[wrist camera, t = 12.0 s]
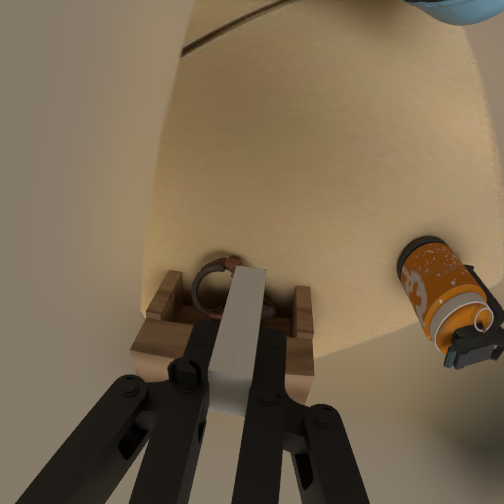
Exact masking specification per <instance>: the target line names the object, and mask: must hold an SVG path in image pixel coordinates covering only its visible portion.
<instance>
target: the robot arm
mask: <svg viewBox="0 0 504 504" xmlns="http://www.w3.org/2000/svg"><path fill="white" fill-rule="evenodd" d="M402 1H404V2H405V3H408V4H411V5H413V6H416V7H418V8H419V9H421V10H422V11H424V12H425V13H427V14H428V15H430V16H431V17H433V18H434V19H436V20H438V21H440V22H443V23H447V24H451V25H455V26H463V25H471V24H475V23H479V22H482V21H484V20H487V19H489V18H491V17H493V16H496V15H497V14H499V13H500V12H502V11H504V0H402ZM266 273H267V270H266V269H258V268H251V267H243V266H236V269H235V273H234V276H233V280H232V283H231V287H230V291H229V294H228V298H227V302H226V305H225V309H224V312H223V316H222V320H221V322H217V321H210V320H204V319H200V320H199V321H198V322H197V323H196V324H195V325H194V326H193V329H192V331H191V334H190V337H189V340H188V343H187V345H186V348H185V351H184V354H183V357H181V358H177V359H175V360H173V361H172V362H170V364H169V365H168V367H167V370H168V376H169V379H167V380H165V381H160V382H145V381H144V380H143V379H142V378H141V377H139V376H136V375H124V376H121V377H119V378H118V379H117V380H116V381H115V382H114V383H113V384H112V385H111V386H110V388H109V389H108V390H107V391H106V392H105V394H104V395H103V396H102V397H101V398H100V400H99V401H98V402H97V403H96V405H95V406H94V407H93V408H92V409H91V410H90V412H89V413H88V414H87V415H86V416H85V418H84V419H83V420H82V421H81V422H80V424H79V425H78V426H77V427H76V428H75V430H74V431H73V432H72V433H71V435H70V436H69V437H68V438H67V439H66V441H65V442H64V443H63V444H62V446H61V447H60V448H59V449H58V450H57V452H56V453H55V454H54V456H53V457H52V458H51V459H50V460H49V462H48V463H47V464H46V465H45V467H44V468H43V469H42V470H41V472H40V473H39V474H38V475H37V477H36V478H35V479H34V480H33V482H32V483H31V484H30V485H29V487H28V488H27V489H26V490H25V492H24V493H23V494H22V495H21V497H20V498H19V499H18V500H17V502H16V503H15V504H105V503H106V501H107V500H108V498H109V497H110V495H111V494H112V492H113V491H114V490H115V488H116V487H117V485H118V484H119V482H120V481H121V479H122V478H123V476H124V475H125V473H126V472H127V471H128V469H129V467H130V466H131V465H132V463H133V462H134V460H135V459H136V457H137V456H138V455H139V453H140V452H141V450H142V449H143V447H144V446H145V444H146V443H147V441H148V440H149V442H148V445H147V448H146V451H145V454H144V457H143V460H142V463H141V466H140V469H139V472H138V476H137V479H136V482H135V485H134V488H133V491H132V494H131V498H130V501H129V504H188V501H189V497H190V492H191V488H192V484H193V479H194V475H195V470H196V466H197V461H198V457H199V453H200V449H201V444H202V440H203V436H204V431H205V427H206V416H207V412H208V407H209V411H213V412H219V413H225V414H231V415H238V416H245V421H244V428H243V434H242V440H241V447H240V454H239V460H238V466H237V472H236V478H235V484H234V490H233V497H232V503H231V504H278V502H279V491H280V479H281V465H282V453H283V450H286V451H288V452H290V453H291V457H292V462H293V466H294V470H295V474H296V479H297V483H298V488H299V492H300V496H301V501H302V504H370V503H369V499H368V497H367V493H366V490H365V487H364V484H363V481H362V478H361V475H360V472H359V469H358V466H357V463H356V460H355V457H354V454H353V451H352V448H351V445H350V442H349V440H348V437H347V434H346V431H345V428H344V425H343V422H342V419H341V417H340V415H339V413H338V411H337V410H336V409H334V408H333V407H332V406H329V405H326V404H316V405H313V406H311V407H307V406H305V405H302V404H300V403H297V402H296V401H294V400H293V399H291V398H290V397H289V395H288V394H287V392H286V390H285V371H286V349H287V338H286V336H285V334H284V332H283V330H279V329H271V328H263V327H259V326H260V319H261V311H262V304H263V296H264V288H265V281H266ZM149 438H150V439H149Z"/></svg>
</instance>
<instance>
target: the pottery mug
mask: <svg viewBox="0 0 504 504" xmlns="http://www.w3.org/2000/svg"><path fill="white" fill-rule="evenodd" d="M241 264H242V261H241V260H239V259H237V258H234V257H232V258H231V257H229V258H228V259H227V258H221V259H217V260H214V261H212V262H210V263H208V264H206V265H205V266H204V267H202V269H201V271H200V272H198V273H197V275H196V277H195V279H194V281H193V284H192V289H191V294H192V299H193V303H194V305H195V307H196V309H197V310H198V311H199V312H200V313H202V314H203V315H204V316H206V317H209V318H211V320H212V321H217V322H221V320H222V316H223V312H224V309H225V308H223V307H221V306H218V307H217V308H216V309H214V310H213V312H214V313H213V312H210V311H208V310H207V309H206V308H205V307H204V306H203V305H202V303H201V302H200V299H199V296H198V289H199V285H200V282H201V281H202V279H203V278H204V277H205V276H206V275H208V274H209V273H211V272H216V271H220V272H224V271H225V269H226V270H228V271H230V272H232V274H231V277H232V278H233V276H234V273H235V269H236V266H239V265H241ZM275 314H276V309H275V307H274V305H273V304H271V303H270V302H269V301H267V300H265V299H264V298H263V304H262V311H261V319H267V320H269V319H271V318H273V317H274V316H275Z"/></svg>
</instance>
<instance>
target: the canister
mask: <svg viewBox="0 0 504 504" xmlns="http://www.w3.org/2000/svg"><path fill="white" fill-rule="evenodd" d="M473 269H474V266H470V265H464V264H462V262H461V261H460V260H459V259H458V258H457V256H456V255H455V254H454V253H453V251H452V250H451V249H450V248H449V247H448V245H447V244H446V243H445V242H444V241H442V240H441V239H438V238H435V237H426V238H422V239H419V240H417V241H415V242H414V243H412V244H411V245H410V246H409V247H408V248H407V249H406V250H405V251H404V252H403V254H402V256H401V258H400V260H399V263H398V277H399V279H400V281H401V283H402V285H403V287H404V289H405V291H406V294H407V296H408V298H409V300H410V302H411V304H412V306H413V308H414V311H415V313H416V315H417V317H418V319H419V322H420V324H421V326H422V328H423V330H424V333H425V335H426V336H427V338H428V339H429V340H431V341H432V342H434V344H435V346H436V348H437V349H438V350H439V351H440V352H442V353H444V354H446V357H445V361H444V367H447V368H450V367H452V366H453V365H454V367H455V369H456V370H458V369H462V368H464V366H468V365H472V364H475V363H478V362H482V361H485V360H488V359H491V360H495V361H497V359H498V358H499V356H500V355H501V354H502V352H503V351H504V329H502V327H501V326H500V325H501V324H502V323H503V322H504V310H503V309H502V307H501V306H500V304H499V303H498V302H497V300H496V298H494V297H493V295H492V294H491V293H490V292H489V290H488V289H487V287H486V286H485V285H484V283H483V282H482V281H481V279H480V278H479V277H478V276H477V274H476V273H475V272H474V271H473ZM495 345H497V348H496V349H495V350H494V346H495Z"/></svg>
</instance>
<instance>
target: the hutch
mask: <svg viewBox="0 0 504 504" xmlns="http://www.w3.org/2000/svg"><path fill="white" fill-rule="evenodd" d="M207 310H208V311H210V312H213V310H212V309H207ZM213 313H214V312H213ZM146 316H147V318H146V320H145V322H144V324H143V326H142V328H141V329H140V331H139V333H138V335H137V337H136V339H135V341H134V343H133V345H132V347H131V349H130V353H131V356H132V360H133V364H134V368H135V372H136V375H137V376H139V377H141V378H142V379H143V380H144V381H145V382H160V381H165V380H167V379H169V376H168V370H167V367H168V365H169V364H170V362H172V361H173V360H175V359H177V358H181V357H183V354H184V351H185V348H186V345H187V343H188V340H189V337H190V334H191V331H192V329H193V326H194V325H195V324H196V323H197V322H198V321H199V320H200V319H204V320H210V321H212V320H211V318H209V317H206V316H204V315H203V314H202V313H200V312H199V311H198V310H197V309H196V307H191V306H184V305H183V288H182V272H176V271H169V272H168V273H167V275H166V277H165V278H164V280H163V282H162V284H161V285H160V287H159V289H158V291H157V292H156V294H155V296H154V298H153V300H152V301H151V303H150V305H149V307H148V309H147V310H146ZM259 327H263V328H271V329H279V330H283V332H284V334H285V336H286V338H287V349H286V371H285V390H286V392H287V394H288V395H289V397H290V398H291V399H293V400H294V401H296V402H297V403H300V404H302V405H305V402H306V399H307V396H308V394H309V391H310V388H311V385H312V382H313V379H314V360H313V344H312V339H313V335H314V330H313V317H312V305H311V294H310V287H303V286H296V291H295V296H294V301H293V307H292V312H291V317H290V319H288V318H278V317H273V318H271V319H269V320H267V319H260V326H259ZM208 408H209V407H208Z"/></svg>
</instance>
